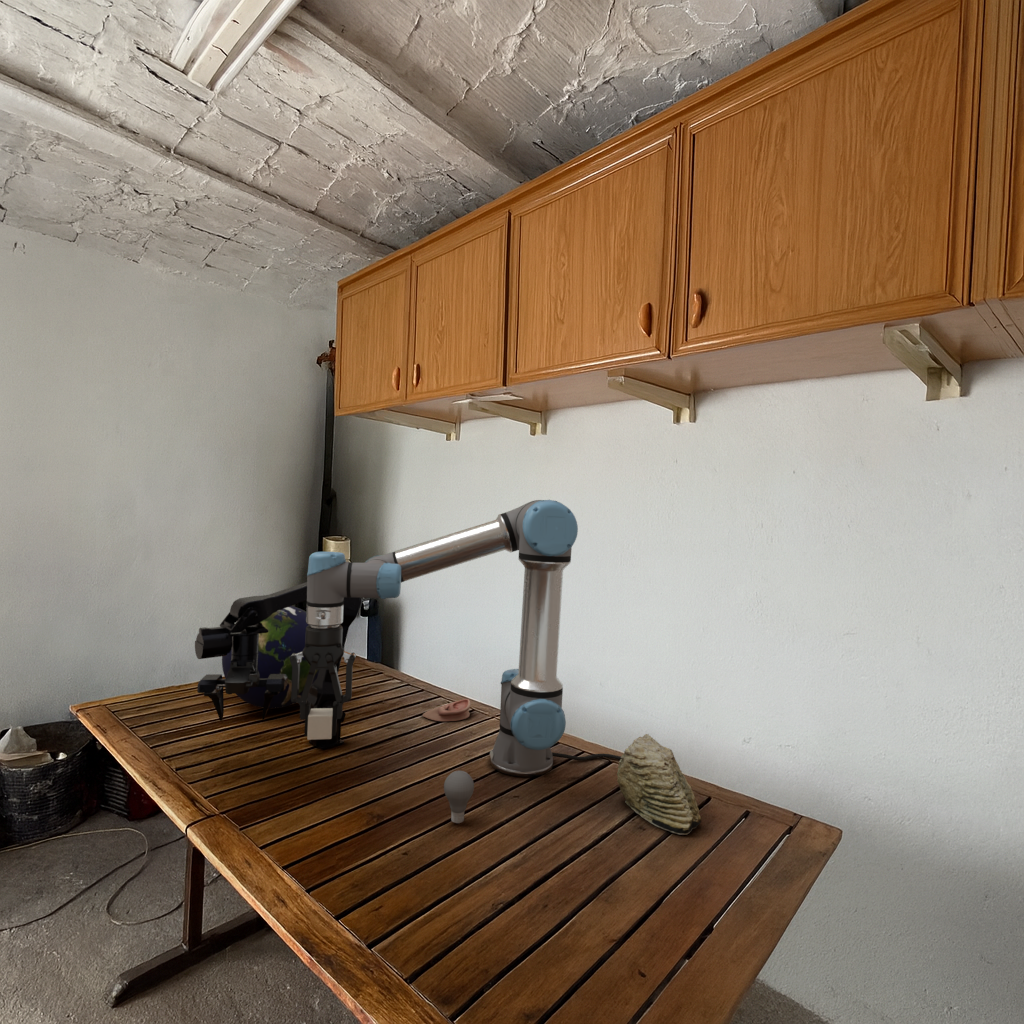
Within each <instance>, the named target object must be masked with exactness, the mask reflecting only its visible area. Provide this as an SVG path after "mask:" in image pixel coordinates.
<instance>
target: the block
mask: <svg viewBox="0 0 1024 1024" xmlns="http://www.w3.org/2000/svg"><path fill="white" fill-rule="evenodd" d="M332 716H333V708H315V709H311V710H310V713H309V715H308V732H307V737H306V740H307V741H309V740H316V739H331V738H332Z"/></svg>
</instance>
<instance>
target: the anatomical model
mask: <svg viewBox="0 0 1024 1024" xmlns="http://www.w3.org/2000/svg"><path fill="white" fill-rule="evenodd" d="M470 708H471V700H470V699H468V698H464V699H459V700H456V701H452V702H450V703H447V704H444V705H441V706H438V707H434V708H431V709H428V710H427V711H425V712H424V713H422V717H423V718H426V719H428V720H431V721H435V722H455V721H456V722H457V721H461V720H462V721H463V720H466V719H468V718H469V717H470V715H471V714H470V711H469V710H470Z"/></svg>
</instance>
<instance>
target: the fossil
mask: <svg viewBox="0 0 1024 1024" xmlns="http://www.w3.org/2000/svg"><path fill="white" fill-rule="evenodd" d="M620 756H621V758H622V759H620V760H618V767H617V768H618V769H617V773H616V777H617V780H616V783H617V784H618V786H619V790H620V791H621V793H622V796H623V797H624V799H625V801H624V803H626V805H627V806H628V807H629V808H630V809H631V810H633V812H634V813H636V814H637V815H639V816H640V817H641V818H643V819H644V820H645V821H646V822H648V823H649V824H651V825H653V826H655V827H656V828H659V829H662V830H664V831H668V832H670V833H672V834H676V835H682V836H684V835H686V836H687V835H688V834H690V833H691V832H692V831H693V830H694V829H696V828H697V827H698V826H699V825H700V824H701V823H702V817H701V815H700V809H699V807H698V802H697V800H696V797H695V793H694V791H693V789H692V786H691V785H690V784H689V782H688V780H687V778H686V775H685V774H684V773H683V771H682V770H681V767H680V765H679V763H678V761H677V760H676V757H675V755H674V752H673V750H672V749H671V748H670V747H669V748H668V747H666V746H663V745H662V744H660V743H659V742H658V741H657V740H656V739H655V738H653V736H651V735H650V734H649V733H645V734H644V735H642V736H638V737H637V738H635V739H634V740H633V741H632V743H631V744H630V745H628V747H627V748H625V750H624V751H623V754H622V755H620Z"/></svg>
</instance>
